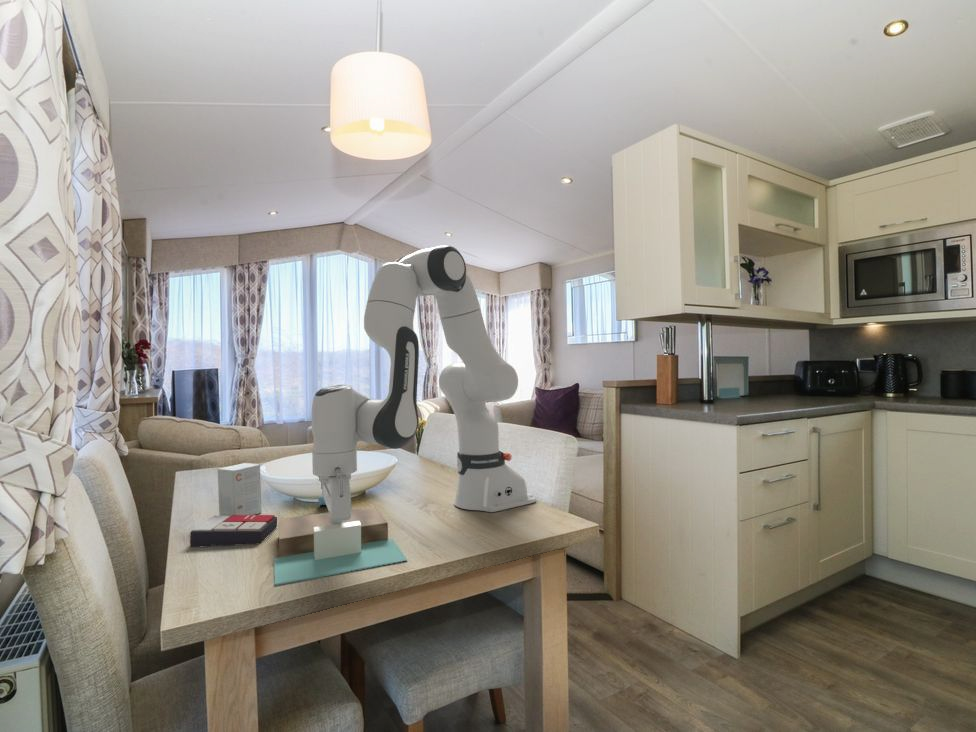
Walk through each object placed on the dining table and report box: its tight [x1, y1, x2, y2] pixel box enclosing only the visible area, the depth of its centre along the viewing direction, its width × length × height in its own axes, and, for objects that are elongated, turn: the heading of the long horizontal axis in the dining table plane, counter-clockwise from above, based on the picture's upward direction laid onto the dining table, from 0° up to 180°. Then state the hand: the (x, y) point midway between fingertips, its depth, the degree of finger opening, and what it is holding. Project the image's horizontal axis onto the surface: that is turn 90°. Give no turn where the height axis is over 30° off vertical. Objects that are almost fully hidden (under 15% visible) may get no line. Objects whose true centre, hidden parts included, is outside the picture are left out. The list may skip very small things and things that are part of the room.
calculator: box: [189, 514, 278, 548], centre depth 114 cm, size 11×4×15 cm
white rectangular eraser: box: [314, 521, 361, 560], centre depth 100 cm, size 9×6×2 cm
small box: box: [217, 462, 262, 516], centre depth 129 cm, size 8×6×13 cm
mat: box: [273, 538, 408, 587], centre depth 98 cm, size 24×13×1 cm, turn 114°
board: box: [277, 505, 389, 557], centre depth 111 cm, size 22×14×4 cm, turn 114°
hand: (336, 530), depth 102 cm, fingers closed
